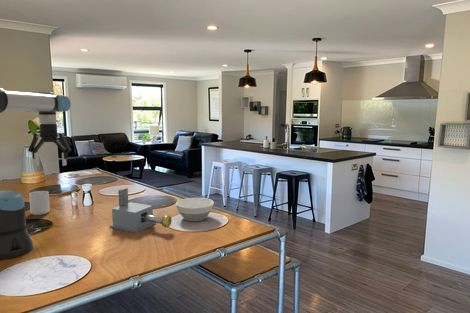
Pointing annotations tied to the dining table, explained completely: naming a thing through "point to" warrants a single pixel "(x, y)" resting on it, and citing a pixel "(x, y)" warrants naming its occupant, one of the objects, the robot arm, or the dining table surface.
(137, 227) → the block
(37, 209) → the mug
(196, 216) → the bowl
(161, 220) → the pin
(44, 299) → the dining table surface
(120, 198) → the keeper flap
